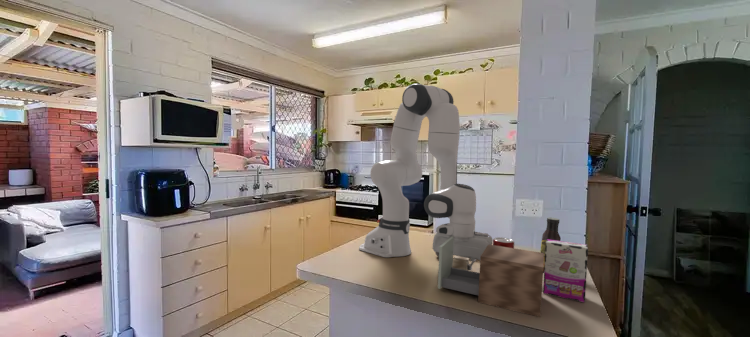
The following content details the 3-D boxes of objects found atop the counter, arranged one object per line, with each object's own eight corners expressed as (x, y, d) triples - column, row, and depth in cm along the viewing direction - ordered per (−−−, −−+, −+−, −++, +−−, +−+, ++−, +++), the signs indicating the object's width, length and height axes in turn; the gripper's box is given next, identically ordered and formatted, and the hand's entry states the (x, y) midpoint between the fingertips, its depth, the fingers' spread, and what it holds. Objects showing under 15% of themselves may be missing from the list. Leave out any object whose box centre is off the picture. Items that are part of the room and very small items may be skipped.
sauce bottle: (536, 270, 120) (539, 217, 119) (541, 266, 124) (544, 215, 123) (556, 275, 115) (559, 220, 114) (560, 271, 120) (563, 218, 119)
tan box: (478, 302, 93) (480, 256, 92) (486, 284, 105) (488, 244, 105) (540, 317, 85) (543, 267, 85) (541, 296, 98) (543, 253, 97)
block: (451, 273, 114) (451, 259, 114) (454, 269, 119) (455, 255, 118) (465, 276, 112) (466, 262, 112) (468, 271, 116) (469, 258, 116)
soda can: (514, 277, 113) (516, 243, 112) (492, 274, 114) (494, 241, 114) (510, 269, 120) (512, 238, 119) (489, 267, 121) (491, 236, 121)
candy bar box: (584, 297, 99) (588, 244, 98) (585, 303, 94) (588, 248, 93) (543, 287, 104) (546, 238, 103) (542, 293, 100) (545, 241, 99)
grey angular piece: (437, 288, 99) (439, 246, 98) (449, 273, 111) (451, 236, 110) (489, 300, 91) (491, 255, 91) (496, 283, 104) (498, 243, 103)
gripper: (494, 232, 112) (492, 271, 113) (437, 224, 122) (435, 260, 123) (491, 236, 107) (489, 277, 108) (431, 227, 116) (430, 265, 117)
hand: (460, 267), depth 115 cm, fingers closed on block, 5 cm apart
